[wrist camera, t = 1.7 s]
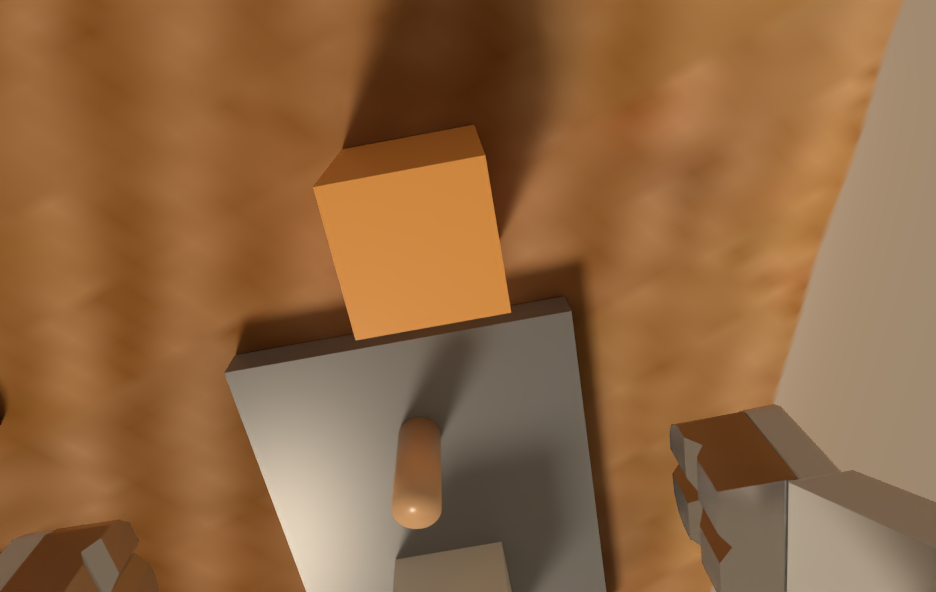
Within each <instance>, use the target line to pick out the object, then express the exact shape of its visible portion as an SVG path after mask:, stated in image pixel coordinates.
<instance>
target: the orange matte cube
mask: <svg viewBox="0 0 936 592" xmlns="http://www.w3.org/2000/svg"><path fill="white" fill-rule="evenodd" d="M313 189H314V192H315V196H316V199H317V203H318V207H319V210H320V214H321V217H322V221H323V225H324V228H325V232H326V236H327V239H328V243H329V246H330V250H331V254H332V257H333V261H334V264H335V268H336V272H337V275H338V279H339V283H340V286H341V290H342V293H343V297H344V301H345V304H346V308H347V312H348V315H349V319H350V322H351V326H352V330H353V333H354V337H355V340H361V339H367V338H372V337H378V336H384V335H389V334H395V333H400V332H406V331H412V330H417V329H423V328H428V327H434V326H440V325H445V324H451V323H456V322H462V321H467V320H473V319H479V318H484V317H490V316H495V315H501V314H507V313H511V307H510V301H509V295H508V289H507V283H506V277H505V271H504V265H503V259H502V253H501V247H500V241H499V235H498V229H497V223H496V216H495V210H494V204H493V198H492V192H491V186H490V180H489V174H488V168H487V162H486V156H485V153H484V150H483V147H482V144H481V142H480V139H479V136H478V134H477V131H476V128H475V125H469V126H464V127H458V128H453V129H448V130H442V131H437V132H432V133H426V134H421V135H416V136H410V137H405V138H400V139H394V140H389V141H384V142H378V143H373V144H368V145H362V146H357V147H352V148H346V149H342V150H341V151H340V152H339V154H338V155H337V156H336V158H335V159H334V160H333V162H332V163H331V164H330V166H329V167H328V168H327V170H326V171H325V172H324V173H323V175H322V176H321V177H320V179H319V180H318V181H317V183H316V184H315V185H314V187H313Z"/></svg>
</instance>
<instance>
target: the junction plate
mask: <svg viewBox="0 0 936 592" xmlns="http://www.w3.org/2000/svg"><path fill="white" fill-rule="evenodd" d="M510 307H511V313H507V314H501V315H495V316H490V317H484V318H479V319H473V320H467V321H462V322H456V323H451V324H445V325H440V326H434V327H428V328H423V329H417V330H412V331H406V332H400V333H395V334H389V335H384V336H378V337H372V338H367V339H361V340H355V337H354V334H350V335H345V336H339V337H334V338H328V339H323V340H317V341H311V342H306V343H300V344H295V345H289V346H283V347H278V348H272V349H267V350H261V351H256V352H250V353H244V354H239V355H235V356H234V358H233V359H232V361H231V363H230V364H229V366H228V368H227V369H226V371H225V373H224V374H225V376H226V379H227V382H228V384H229V387H230V390H231V392H232V395H233V398H234V400H235V403H236V406H237V408H238V411H239V414H240V416H241V419H242V422H243V424H244V427H245V430H246V432H247V435H248V438H249V440H250V443H251V446H252V448H253V451H254V454H255V456H256V459H257V462H258V464H259V467H260V469H261V472H262V475H263V477H264V480H265V483H266V485H267V488H268V491H269V493H270V496H271V499H272V501H273V504H274V507H275V509H276V512H277V515H278V517H279V520H280V523H281V525H282V528H283V531H284V533H285V536H286V539H287V541H288V544H289V547H290V549H291V552H292V555H293V557H294V560H295V563H296V565H297V568H298V571H299V573H300V576H301V579H302V581H303V584H304V587H305V589H306V592H606V585H605V577H604V568H603V560H602V552H601V544H600V536H599V528H598V520H597V512H596V504H595V496H594V488H593V480H592V472H591V464H590V456H589V448H588V440H587V432H586V424H585V416H584V408H583V399H582V391H581V383H580V375H579V367H578V359H577V351H576V343H575V335H574V327H573V319H572V311H571V309H570V307H569V305H568V302H567V300H566V298H565V296H562V297H557V298H551V299H546V300H540V301H534V302H529V303H523V304H518V305H512V306H510Z"/></svg>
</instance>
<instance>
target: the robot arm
mask: <svg viewBox="0 0 936 592" xmlns="http://www.w3.org/2000/svg"><path fill="white" fill-rule="evenodd" d="M670 447H671V450H672V452H673V454H674V456H675V458H676V459H677V461H678V463H679V465H678V466H677V468H676V469H675V471H674V472H673V484H674V493H675V498H676V502H677V506H678V511H679V514H680V517H681V519H682V522H683V525H684V527H685V529H686V531H687V533H688V535H689V537H690V539H691V540H693V541H694V542H696V543H698V544H700V545H701V553H702V564H703V566H704V568H705V570H706V572H707V574H708V576H709V578H710V580H711V582H712V584H713V586H714V588H715V590H716V592H936V502H934V501H931V500H928V499H926V498H923V497H921V496H918V495H915V494H913V493H910V492H908V491H905V490H903V489H900V488H898V487H895V486H892V485H890V484H887V483H884V482H882V481H880V480H877V479H874V478H872V477H869V476H867V475H864V474H862V473H859V472H856V471H854V470H851V471H845V472H841V470H840V469H839V468H838V467H837V466H836V465H835V464H834V463H833V462H832V461H831V460H830V459H829V458H828V457H827V455H826V454H825V453H824V452H823V451H822V450H821V449H820V448H819V447H818V446H817V445H816V444H815V443H814V442H813V441H812V439H811V438H809V436H808V435H807V434H806V433H805V432H804V431H803V430H802V429H801V428H800V427H799V426H798V425H797V423H796V422H795V421H794V420H793V419H792V418H791V417H790V416H789V415H788V414H787V413H786V412H785V411H784V410H783V409H782V408H781V407H780V406H778V405H775V404H772V405H767V406H762V407H757V408H752V409H748V410H743V411H740V412H738V413H732V414H727V415H721V416H716V417H710V418H705V419H699V420H694V421H689V422H683V423H678V424H672V425H671V428H670ZM138 542H139V539H138V537H137V535H136V533H135V531H134V530H133V528H132V526H131V524H130V523H129V522H125V521H122V520H113V521H107V522H100V523H93V524H87V525H80V526H73V527H67V528H60V529H56V530H48V531H42V532H36V533H30V534H25V535H23V536H20V537H18V538H16V539H14V540H12V541H11V543H10V544H9V545H8V546H7V547H6V548H5V549H4V551H3V552H2V553H1V554H0V592H159V590H158V584H157V578H156V575H155V572H154V570H153V568H152V566H151V564H150V562H148V561H146V560H145V559H143V558H142V557H140V556H139V555H137V554H135V551H136V548H137V545H138Z"/></svg>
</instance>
